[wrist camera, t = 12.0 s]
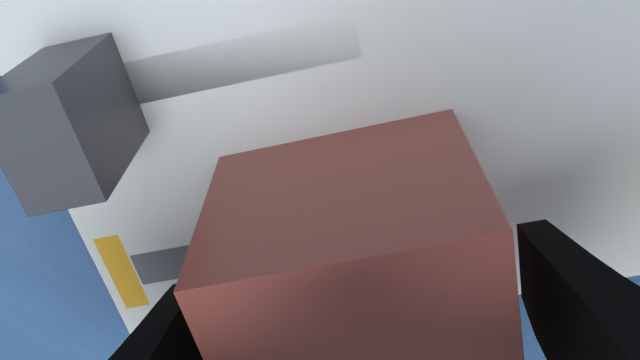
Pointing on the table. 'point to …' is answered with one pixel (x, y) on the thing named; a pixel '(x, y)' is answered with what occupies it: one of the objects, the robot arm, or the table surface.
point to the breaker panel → (311, 109)
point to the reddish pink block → (354, 251)
